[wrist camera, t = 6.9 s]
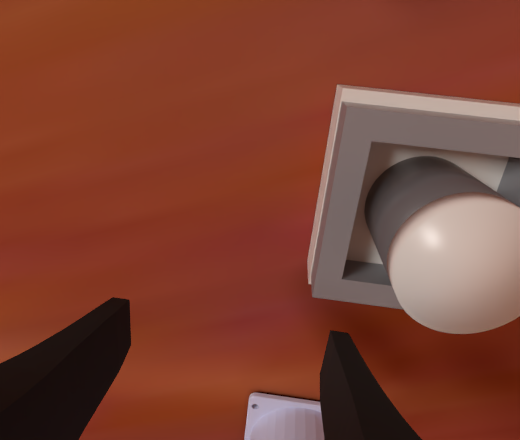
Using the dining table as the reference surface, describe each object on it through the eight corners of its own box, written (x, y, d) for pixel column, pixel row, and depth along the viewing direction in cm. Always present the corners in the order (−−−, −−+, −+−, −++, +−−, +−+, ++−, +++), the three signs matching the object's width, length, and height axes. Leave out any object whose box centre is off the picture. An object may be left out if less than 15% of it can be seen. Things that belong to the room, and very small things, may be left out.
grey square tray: (460, 280, 22) (497, 331, 18) (307, 260, 22) (309, 306, 18) (525, 104, 18) (592, 117, 14) (337, 84, 18) (348, 91, 14)
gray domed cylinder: (452, 261, 19) (516, 344, 13) (353, 244, 19) (375, 320, 13) (490, 165, 17) (584, 217, 11) (380, 147, 17) (419, 190, 11)
